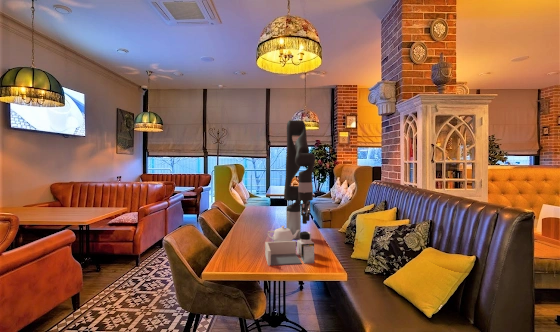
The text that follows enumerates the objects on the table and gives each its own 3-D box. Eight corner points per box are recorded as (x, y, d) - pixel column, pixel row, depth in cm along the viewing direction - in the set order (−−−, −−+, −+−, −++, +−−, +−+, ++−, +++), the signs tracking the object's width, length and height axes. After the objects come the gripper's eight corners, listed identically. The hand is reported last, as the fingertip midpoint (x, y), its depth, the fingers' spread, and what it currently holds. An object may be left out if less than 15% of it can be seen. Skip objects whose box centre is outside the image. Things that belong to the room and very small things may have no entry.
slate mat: (267, 255, 154) (267, 254, 154) (295, 254, 156) (295, 253, 156) (270, 265, 140) (270, 264, 140) (301, 264, 142) (301, 262, 142)
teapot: (299, 239, 185) (299, 223, 185) (300, 245, 173) (300, 228, 172) (267, 239, 185) (267, 223, 185) (266, 245, 173) (266, 228, 173)
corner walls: (265, 255, 155) (265, 242, 155) (295, 253, 157) (295, 240, 157) (268, 265, 140) (268, 251, 140) (301, 264, 142) (301, 249, 142)
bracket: (300, 258, 151) (300, 242, 151) (310, 257, 152) (310, 242, 151) (304, 263, 143) (304, 247, 143) (314, 263, 144) (314, 246, 143)
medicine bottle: (301, 257, 152) (301, 234, 152) (296, 253, 159) (297, 231, 158) (314, 256, 154) (314, 233, 153) (309, 251, 161) (309, 230, 160)
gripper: (301, 190, 161) (301, 219, 161) (295, 192, 147) (296, 224, 147) (314, 190, 159) (315, 220, 159) (310, 192, 146) (311, 224, 145)
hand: (306, 222), depth 153 cm, fingers open, 8 cm apart
